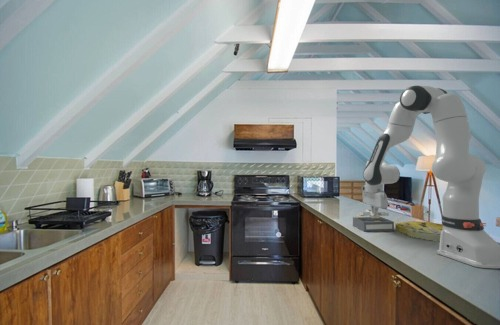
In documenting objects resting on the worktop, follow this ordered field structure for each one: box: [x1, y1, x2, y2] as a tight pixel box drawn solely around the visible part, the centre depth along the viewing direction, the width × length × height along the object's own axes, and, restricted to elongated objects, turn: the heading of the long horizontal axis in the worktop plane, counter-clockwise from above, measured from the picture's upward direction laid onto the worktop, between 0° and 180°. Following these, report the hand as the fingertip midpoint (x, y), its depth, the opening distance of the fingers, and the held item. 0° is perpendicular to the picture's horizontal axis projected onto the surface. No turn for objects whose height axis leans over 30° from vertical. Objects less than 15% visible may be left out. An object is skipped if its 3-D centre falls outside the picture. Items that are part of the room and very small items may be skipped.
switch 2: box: [364, 209, 381, 218], centre depth 145 cm, size 8×4×2 cm, turn 2°
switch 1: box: [356, 211, 370, 217], centre depth 145 cm, size 8×4×2 cm, turn 2°
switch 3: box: [377, 211, 390, 217], centre depth 145 cm, size 8×4×2 cm, turn 2°
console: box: [352, 216, 395, 233], centre depth 145 cm, size 14×16×5 cm
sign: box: [394, 220, 443, 242], centre depth 133 cm, size 28×3×30 cm
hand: (374, 213), depth 142 cm, fingers closed
